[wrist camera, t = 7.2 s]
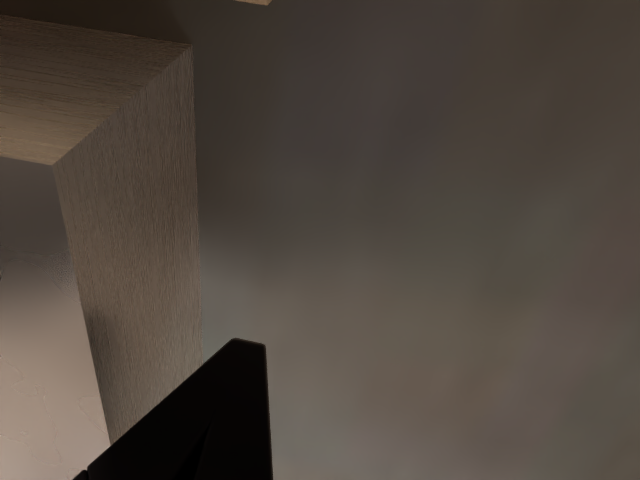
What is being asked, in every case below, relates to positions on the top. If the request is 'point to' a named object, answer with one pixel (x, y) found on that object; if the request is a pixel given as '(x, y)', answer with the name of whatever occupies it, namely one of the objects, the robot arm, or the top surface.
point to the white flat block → (92, 239)
